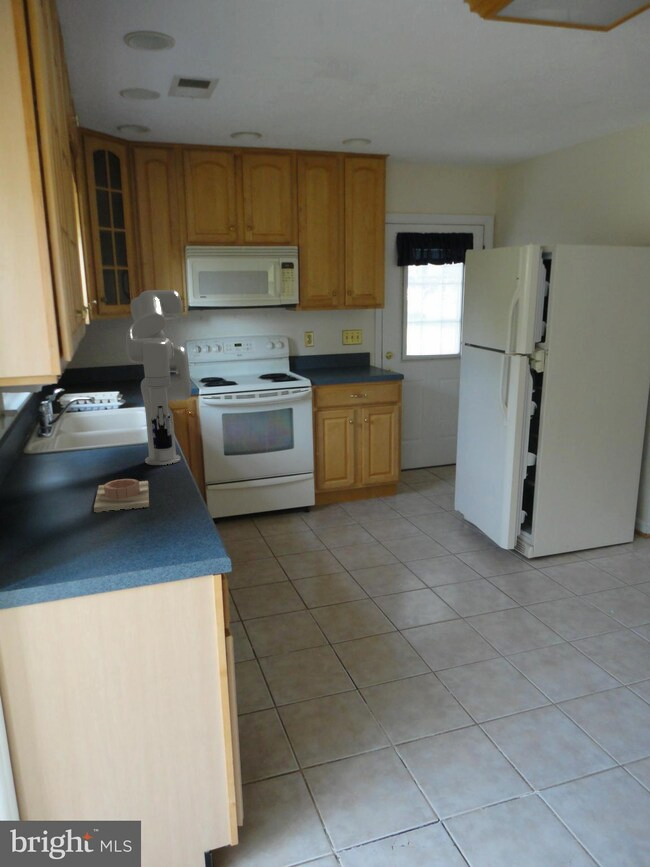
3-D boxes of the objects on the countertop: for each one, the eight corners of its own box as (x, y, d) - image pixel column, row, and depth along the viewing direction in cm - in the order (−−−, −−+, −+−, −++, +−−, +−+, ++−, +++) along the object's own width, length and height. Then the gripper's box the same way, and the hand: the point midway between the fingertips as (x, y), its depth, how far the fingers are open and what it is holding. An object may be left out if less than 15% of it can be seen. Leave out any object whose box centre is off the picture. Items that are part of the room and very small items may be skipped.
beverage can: (165, 445, 202) (162, 409, 199) (176, 448, 199) (173, 411, 196) (150, 449, 198) (147, 412, 195) (161, 452, 195) (158, 414, 192)
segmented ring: (106, 490, 195) (105, 480, 194) (139, 486, 197) (139, 477, 196) (104, 500, 185) (103, 490, 184) (139, 496, 188) (138, 486, 187)
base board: (99, 489, 200) (98, 485, 200) (148, 485, 204) (147, 480, 203) (94, 512, 179) (93, 507, 179) (149, 506, 183) (148, 501, 183)
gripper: (145, 378, 200) (149, 433, 205) (145, 387, 184) (150, 446, 189) (169, 376, 202) (173, 431, 207) (171, 385, 186) (176, 444, 191)
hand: (162, 438), depth 198 cm, fingers closed on beverage can, 5 cm apart
